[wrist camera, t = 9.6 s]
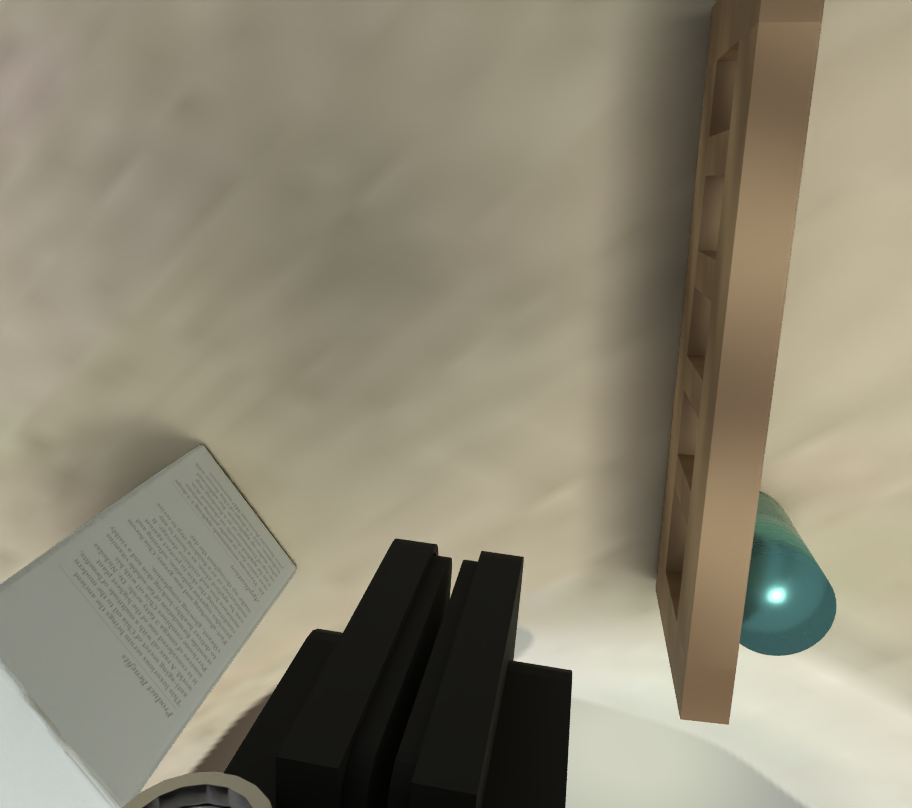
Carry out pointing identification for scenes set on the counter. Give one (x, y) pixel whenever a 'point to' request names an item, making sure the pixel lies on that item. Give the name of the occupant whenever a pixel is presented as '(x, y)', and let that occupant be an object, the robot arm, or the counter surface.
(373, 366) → the counter surface
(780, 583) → the teal elongated shape
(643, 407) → the counter surface
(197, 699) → the skincare box
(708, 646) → the gate
